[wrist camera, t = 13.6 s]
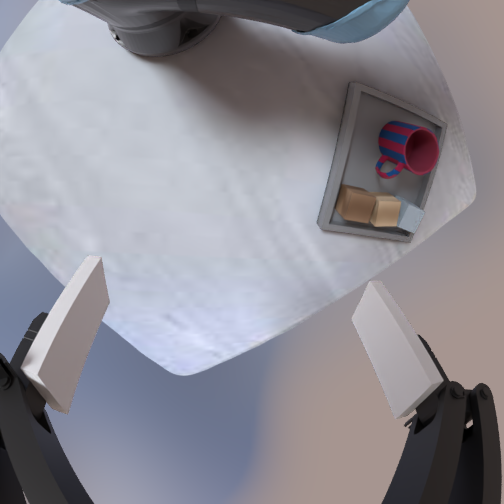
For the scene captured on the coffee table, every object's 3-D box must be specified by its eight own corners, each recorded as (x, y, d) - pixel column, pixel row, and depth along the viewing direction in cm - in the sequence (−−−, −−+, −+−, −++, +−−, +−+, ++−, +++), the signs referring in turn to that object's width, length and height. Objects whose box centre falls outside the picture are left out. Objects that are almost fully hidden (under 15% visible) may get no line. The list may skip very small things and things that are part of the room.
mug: (417, 149, 35) (444, 160, 29) (373, 181, 37) (396, 197, 31) (401, 113, 32) (429, 118, 26) (353, 144, 34) (376, 154, 28)
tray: (349, 82, 30) (355, 81, 28) (439, 122, 33) (447, 124, 31) (316, 222, 41) (320, 229, 39) (404, 236, 44) (410, 242, 42)
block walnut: (341, 183, 37) (352, 192, 34) (364, 188, 38) (376, 197, 34) (334, 208, 39) (344, 219, 36) (357, 212, 40) (368, 223, 36)
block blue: (395, 194, 39) (409, 204, 35) (411, 202, 39) (425, 212, 36) (386, 216, 40) (398, 227, 37) (402, 222, 41) (414, 233, 38)
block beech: (367, 191, 38) (379, 201, 35) (388, 192, 38) (401, 201, 35) (363, 215, 40) (375, 226, 37) (384, 215, 40) (396, 226, 37)
